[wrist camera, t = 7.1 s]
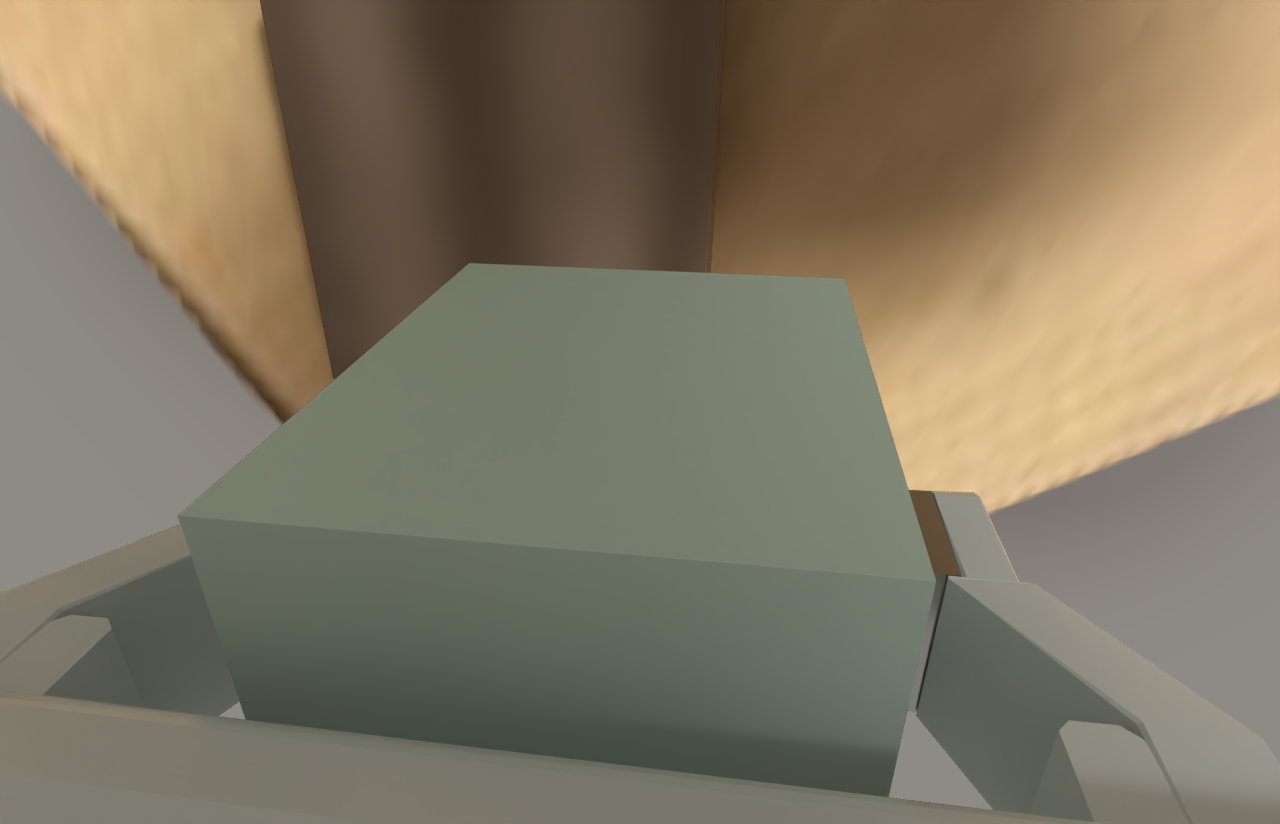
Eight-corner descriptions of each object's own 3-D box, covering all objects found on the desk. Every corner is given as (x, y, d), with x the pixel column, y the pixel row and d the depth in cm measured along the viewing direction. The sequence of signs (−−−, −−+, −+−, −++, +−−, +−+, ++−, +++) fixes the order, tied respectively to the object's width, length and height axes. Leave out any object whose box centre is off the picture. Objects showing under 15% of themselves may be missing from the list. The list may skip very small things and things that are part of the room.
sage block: (844, 277, 10) (936, 582, 5) (805, 584, 12) (839, 1018, 7) (469, 263, 11) (177, 515, 5) (500, 557, 13) (317, 937, 8)
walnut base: (728, -38, 24) (721, -43, 21) (704, 373, 30) (697, 408, 28) (304, -42, 26) (250, -46, 23) (369, 347, 32) (333, 378, 30)
